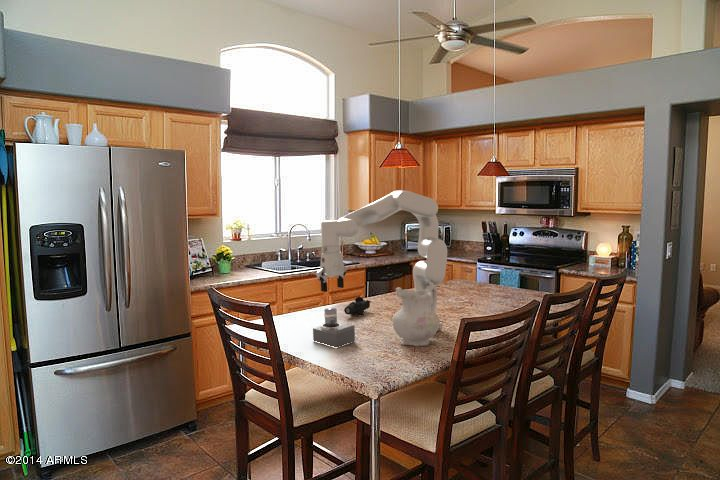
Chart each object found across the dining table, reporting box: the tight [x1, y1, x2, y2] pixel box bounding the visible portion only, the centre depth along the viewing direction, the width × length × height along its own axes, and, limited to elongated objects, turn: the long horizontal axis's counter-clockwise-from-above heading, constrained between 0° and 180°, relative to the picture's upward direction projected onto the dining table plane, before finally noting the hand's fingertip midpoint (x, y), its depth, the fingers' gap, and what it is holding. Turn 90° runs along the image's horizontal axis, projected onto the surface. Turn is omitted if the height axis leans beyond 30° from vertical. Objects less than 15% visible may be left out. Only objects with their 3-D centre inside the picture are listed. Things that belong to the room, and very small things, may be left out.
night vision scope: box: [343, 296, 372, 317], centre depth 255 cm, size 8×18×10 cm
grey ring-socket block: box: [312, 322, 356, 347], centre depth 209 cm, size 14×11×8 cm
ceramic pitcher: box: [392, 281, 440, 347], centre depth 207 cm, size 22×20×25 cm
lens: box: [323, 307, 338, 327], centre depth 210 cm, size 6×6×8 cm
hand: (332, 289), depth 209 cm, fingers open, 9 cm apart
